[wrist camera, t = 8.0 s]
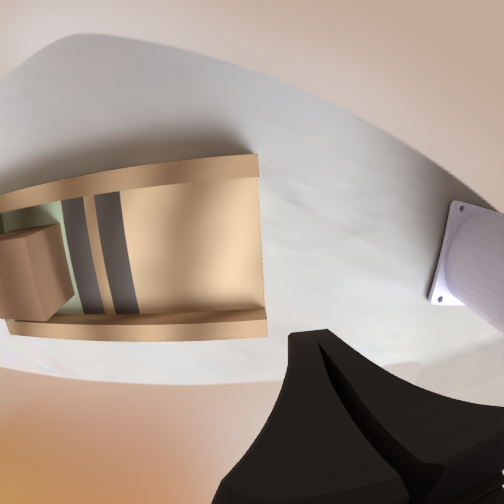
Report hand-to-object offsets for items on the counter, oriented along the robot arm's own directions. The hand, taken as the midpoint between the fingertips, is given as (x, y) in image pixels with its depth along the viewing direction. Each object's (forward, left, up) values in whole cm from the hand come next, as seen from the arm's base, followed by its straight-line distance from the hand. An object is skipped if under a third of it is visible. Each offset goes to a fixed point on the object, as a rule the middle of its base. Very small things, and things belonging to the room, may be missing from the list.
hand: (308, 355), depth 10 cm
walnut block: (+16, +1, -9) cm, 19 cm away
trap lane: (+11, 0, -10) cm, 15 cm away
